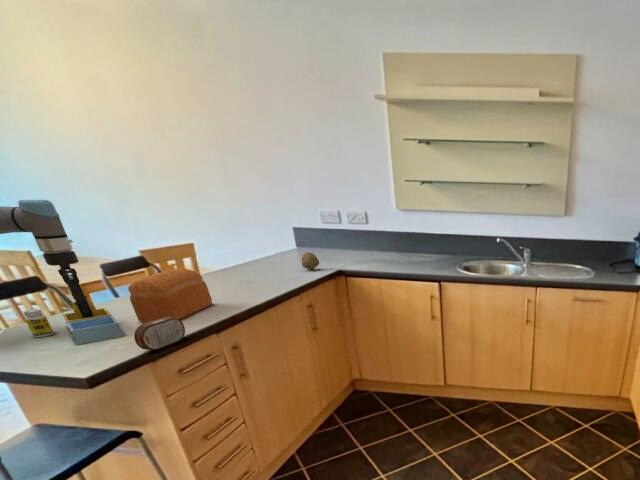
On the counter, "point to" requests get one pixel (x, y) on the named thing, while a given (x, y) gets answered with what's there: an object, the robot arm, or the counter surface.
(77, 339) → the blue bin
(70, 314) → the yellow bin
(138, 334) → the tin
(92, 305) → the lemon
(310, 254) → the natural sponge
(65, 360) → the counter surface
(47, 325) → the supplement bottle
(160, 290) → the bread
